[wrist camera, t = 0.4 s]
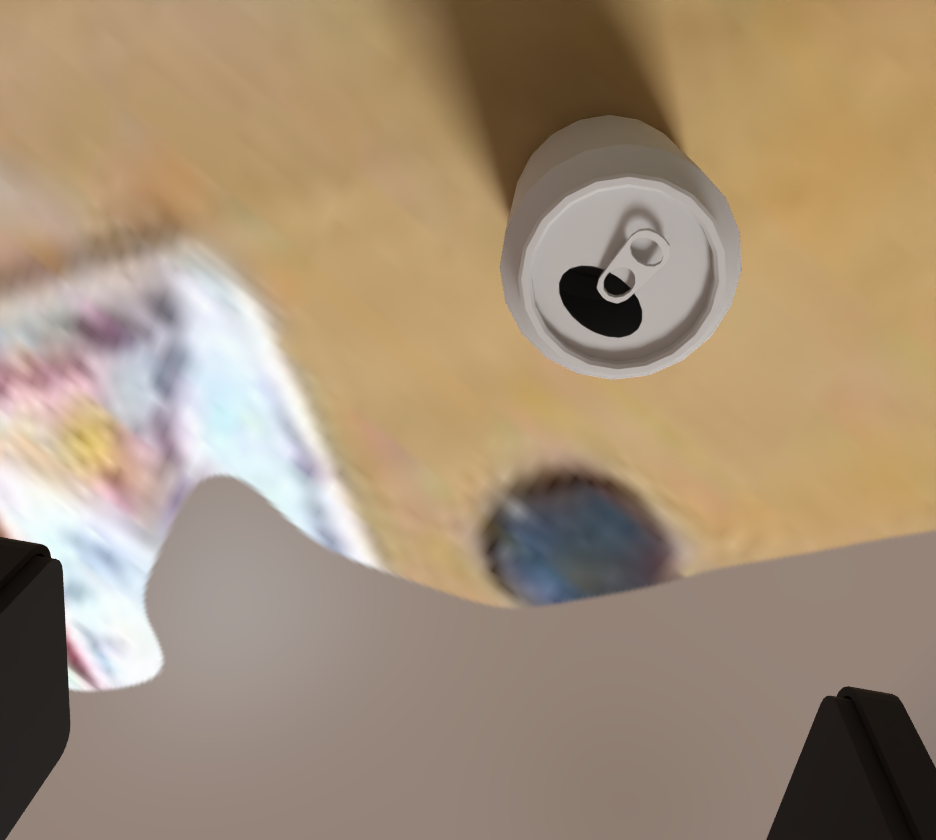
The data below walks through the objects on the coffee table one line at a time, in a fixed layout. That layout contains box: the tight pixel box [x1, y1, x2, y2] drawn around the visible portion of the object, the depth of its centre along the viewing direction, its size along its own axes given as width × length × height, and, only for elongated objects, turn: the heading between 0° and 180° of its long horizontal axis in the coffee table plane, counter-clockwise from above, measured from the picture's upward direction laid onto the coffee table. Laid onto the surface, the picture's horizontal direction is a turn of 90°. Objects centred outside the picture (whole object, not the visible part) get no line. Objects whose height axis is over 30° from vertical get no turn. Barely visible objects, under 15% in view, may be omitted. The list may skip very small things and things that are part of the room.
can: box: [500, 115, 742, 380], centre depth 32 cm, size 8×8×12 cm
